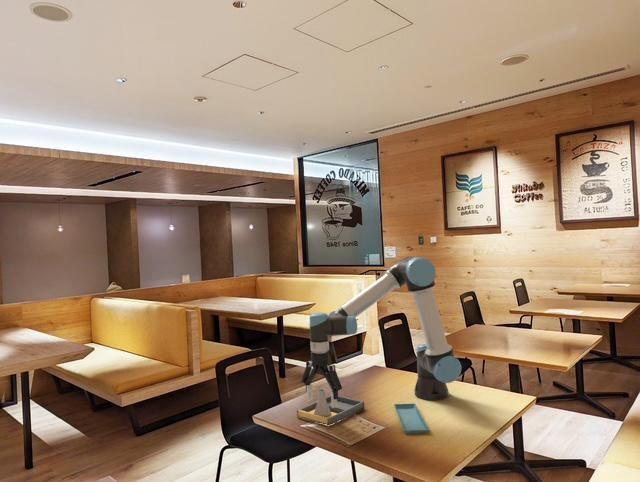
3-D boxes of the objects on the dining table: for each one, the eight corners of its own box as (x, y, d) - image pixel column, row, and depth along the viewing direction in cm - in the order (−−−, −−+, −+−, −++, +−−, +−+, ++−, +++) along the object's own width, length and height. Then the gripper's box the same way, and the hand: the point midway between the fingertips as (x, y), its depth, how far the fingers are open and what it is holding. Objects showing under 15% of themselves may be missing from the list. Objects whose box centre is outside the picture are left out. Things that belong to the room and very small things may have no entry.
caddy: (364, 408, 193) (364, 401, 193) (329, 427, 175) (328, 419, 176) (333, 401, 204) (332, 394, 204) (297, 417, 187) (296, 410, 187)
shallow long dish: (429, 435, 166) (429, 428, 166) (404, 436, 166) (403, 429, 166) (415, 409, 192) (415, 403, 192) (393, 410, 192) (393, 404, 192)
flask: (329, 418, 181) (328, 393, 181) (311, 417, 183) (310, 392, 183) (332, 411, 188) (331, 387, 189) (315, 410, 190) (314, 386, 190)
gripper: (291, 349, 191) (293, 400, 191) (337, 357, 175) (339, 412, 175) (304, 346, 197) (306, 395, 197) (349, 353, 181) (351, 407, 180)
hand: (321, 403), depth 186 cm, fingers open, 12 cm apart
